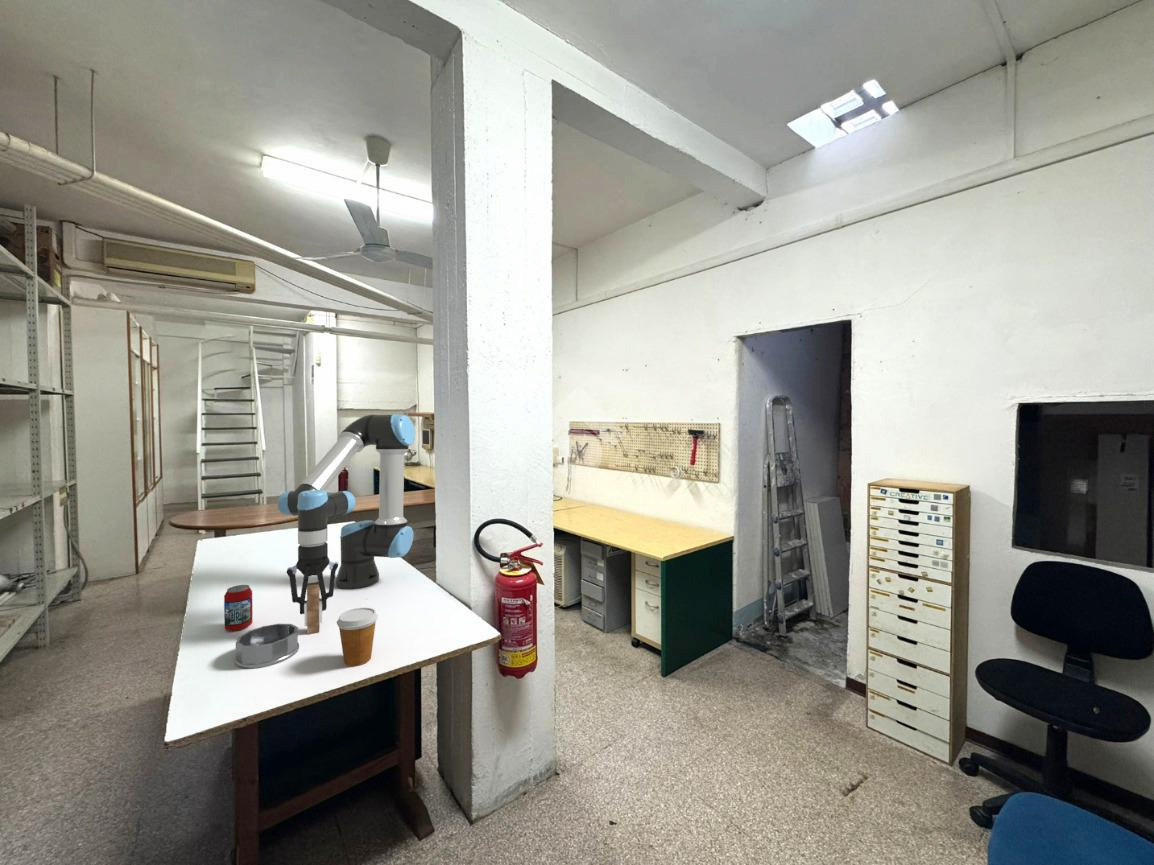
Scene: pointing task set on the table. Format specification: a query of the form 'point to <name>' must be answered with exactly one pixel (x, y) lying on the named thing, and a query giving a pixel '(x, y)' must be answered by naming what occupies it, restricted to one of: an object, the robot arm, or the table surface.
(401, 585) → the table surface
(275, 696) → the table surface
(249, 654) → the tin
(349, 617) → the disposable coffee cup
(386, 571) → the table surface
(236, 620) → the beverage can
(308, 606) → the long wooden beam
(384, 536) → the robot arm
